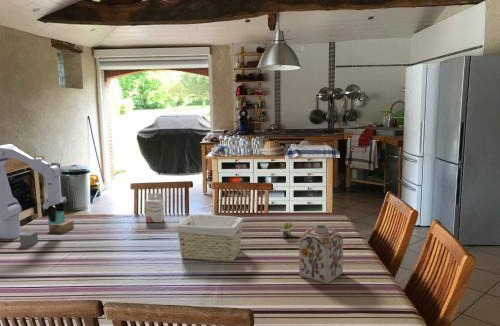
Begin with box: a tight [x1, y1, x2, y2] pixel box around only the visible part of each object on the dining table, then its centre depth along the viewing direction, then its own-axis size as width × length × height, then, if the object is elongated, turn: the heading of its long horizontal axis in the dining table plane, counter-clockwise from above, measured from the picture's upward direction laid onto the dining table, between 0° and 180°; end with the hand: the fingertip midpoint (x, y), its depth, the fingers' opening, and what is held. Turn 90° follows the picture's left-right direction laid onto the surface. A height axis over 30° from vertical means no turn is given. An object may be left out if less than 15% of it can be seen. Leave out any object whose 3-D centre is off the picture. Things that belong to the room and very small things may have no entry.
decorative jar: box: [298, 224, 344, 285], centre depth 146 cm, size 12×12×18 cm
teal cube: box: [47, 210, 66, 225], centre depth 194 cm, size 5×5×5 cm
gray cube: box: [19, 231, 39, 247], centre depth 187 cm, size 5×5×5 cm
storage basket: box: [176, 214, 244, 263], centre depth 168 cm, size 24×16×15 cm
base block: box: [48, 219, 75, 234], centre depth 207 cm, size 8×8×4 cm
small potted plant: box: [280, 221, 294, 240], centre depth 189 cm, size 12×18×7 cm, turn 159°
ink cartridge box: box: [144, 192, 165, 224], centre depth 216 cm, size 9×5×15 cm, turn 84°
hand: (56, 219), depth 195 cm, fingers closed on teal cube, 5 cm apart
